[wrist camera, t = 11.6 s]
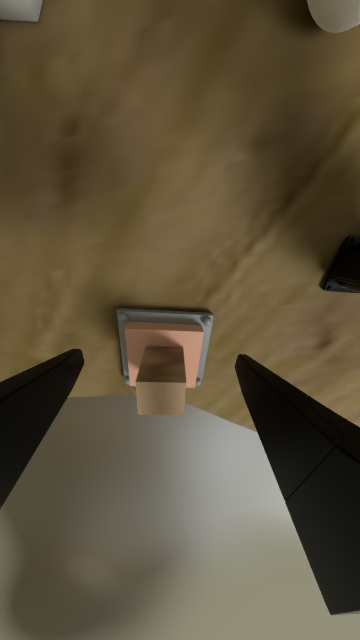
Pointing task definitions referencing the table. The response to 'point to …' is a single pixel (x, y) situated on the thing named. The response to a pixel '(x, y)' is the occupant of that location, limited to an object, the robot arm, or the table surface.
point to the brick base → (164, 318)
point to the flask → (20, 10)
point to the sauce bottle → (335, 14)
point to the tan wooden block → (161, 381)
